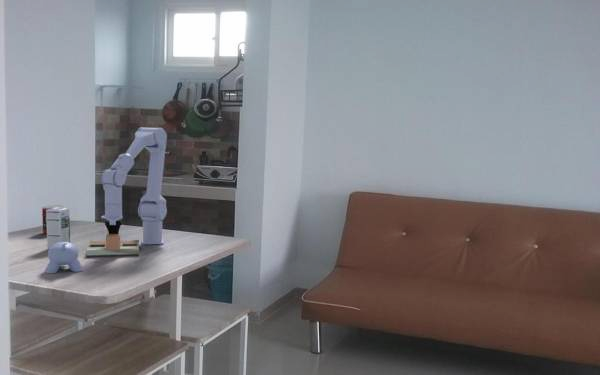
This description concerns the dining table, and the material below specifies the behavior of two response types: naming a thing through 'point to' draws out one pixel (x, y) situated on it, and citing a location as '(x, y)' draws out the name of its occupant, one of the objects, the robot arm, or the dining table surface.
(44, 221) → the canned food
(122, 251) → the board
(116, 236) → the terracotta cube
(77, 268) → the hippopotamus toy
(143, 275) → the dining table surface
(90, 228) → the dining table surface
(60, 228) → the syrup box
